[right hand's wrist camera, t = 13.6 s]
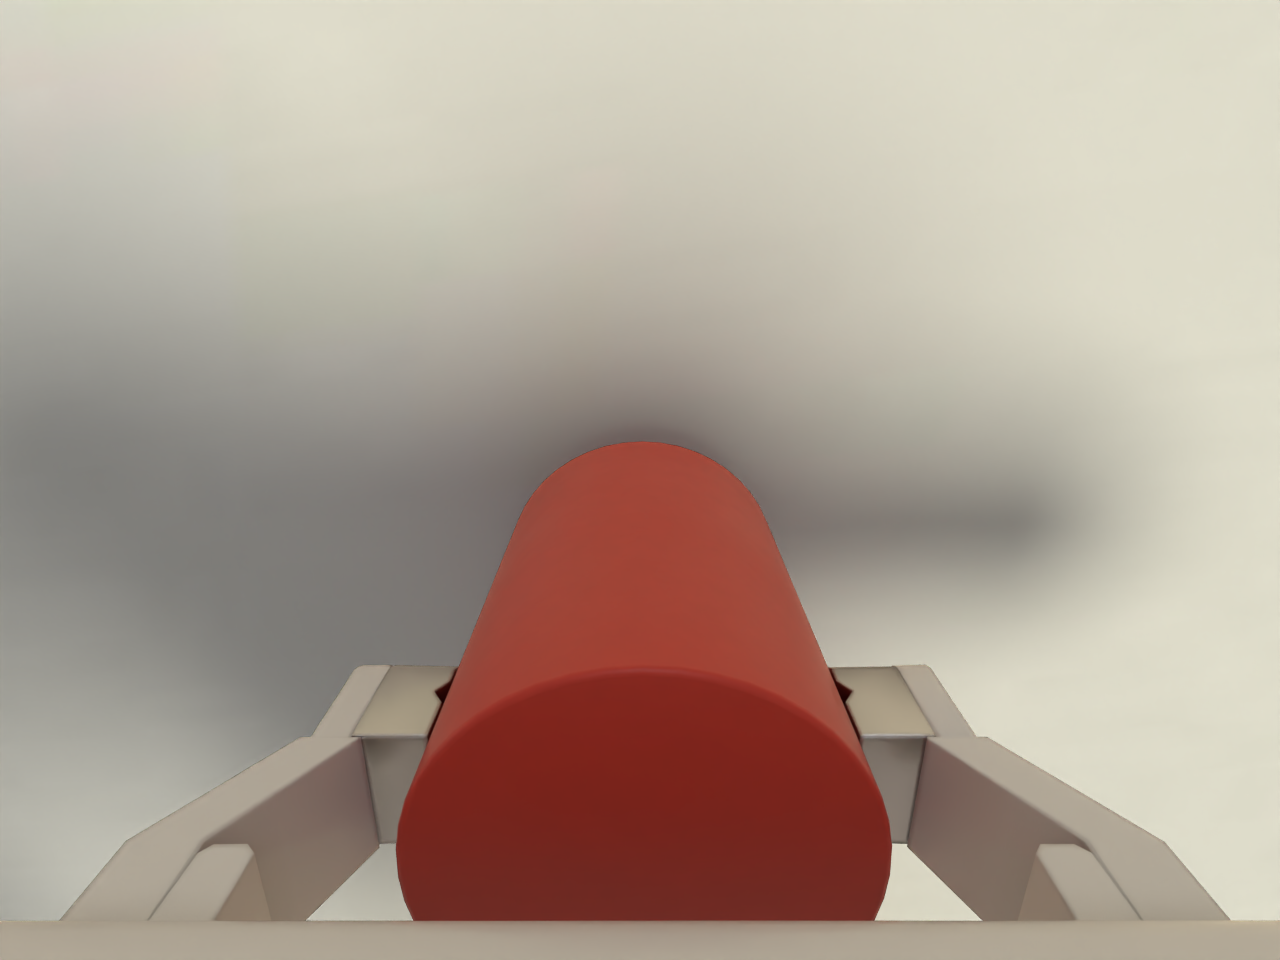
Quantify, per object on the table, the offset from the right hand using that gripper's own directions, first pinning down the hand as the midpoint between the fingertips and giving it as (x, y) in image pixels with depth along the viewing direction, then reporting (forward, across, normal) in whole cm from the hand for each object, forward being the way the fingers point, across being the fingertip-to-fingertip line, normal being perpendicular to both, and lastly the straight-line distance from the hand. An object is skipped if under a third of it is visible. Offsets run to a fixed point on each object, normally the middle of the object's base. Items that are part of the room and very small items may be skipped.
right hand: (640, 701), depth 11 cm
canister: (+4, 0, 0) cm, 4 cm away
